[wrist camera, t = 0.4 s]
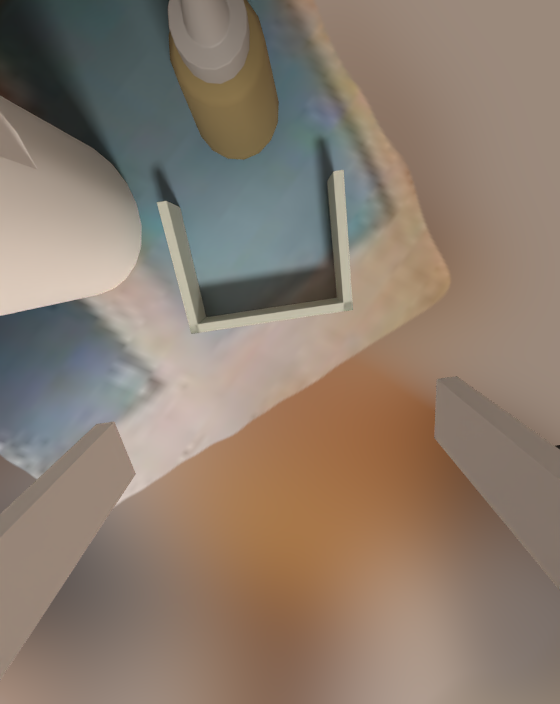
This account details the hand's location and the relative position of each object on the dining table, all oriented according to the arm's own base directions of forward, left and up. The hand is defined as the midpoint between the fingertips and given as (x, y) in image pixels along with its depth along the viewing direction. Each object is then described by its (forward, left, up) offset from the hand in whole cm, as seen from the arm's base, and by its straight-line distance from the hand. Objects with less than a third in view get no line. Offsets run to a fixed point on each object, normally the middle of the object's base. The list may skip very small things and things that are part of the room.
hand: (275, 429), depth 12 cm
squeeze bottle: (-20, -1, -26) cm, 33 cm away
